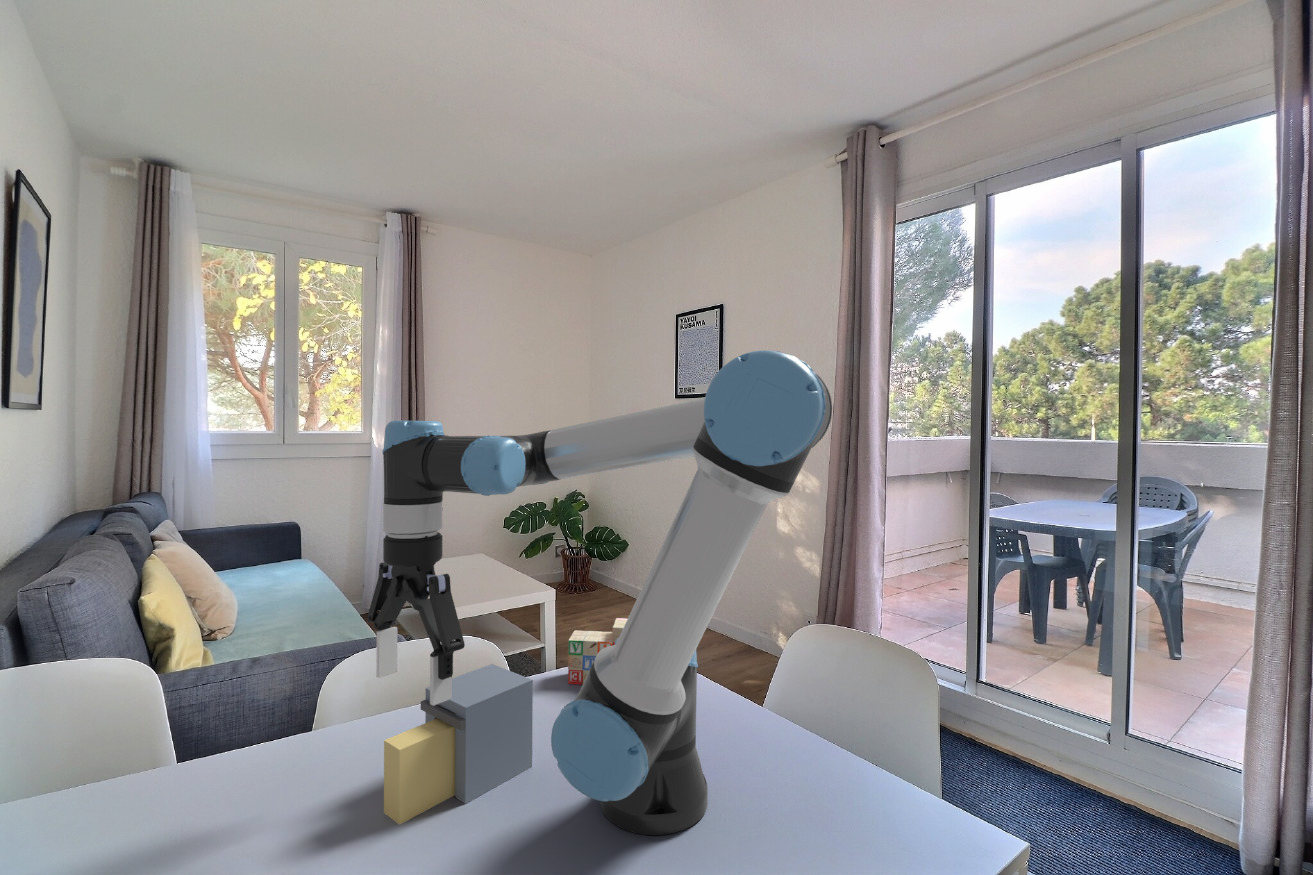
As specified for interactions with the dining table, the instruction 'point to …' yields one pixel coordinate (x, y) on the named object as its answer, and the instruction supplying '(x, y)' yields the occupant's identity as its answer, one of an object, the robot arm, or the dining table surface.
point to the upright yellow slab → (419, 769)
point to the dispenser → (487, 727)
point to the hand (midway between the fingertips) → (412, 687)
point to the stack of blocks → (589, 649)
